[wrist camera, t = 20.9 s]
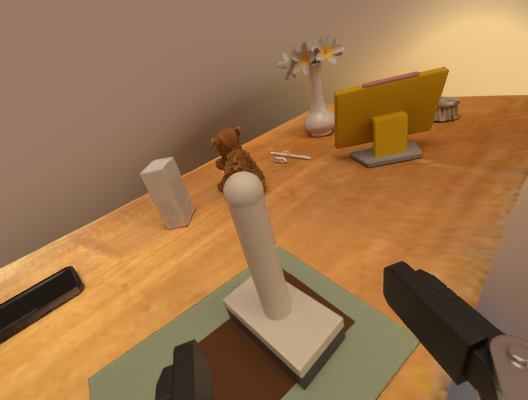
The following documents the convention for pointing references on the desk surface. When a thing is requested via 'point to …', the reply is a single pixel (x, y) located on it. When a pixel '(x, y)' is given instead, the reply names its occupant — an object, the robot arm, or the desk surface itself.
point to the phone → (38, 301)
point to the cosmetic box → (168, 192)
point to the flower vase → (314, 79)
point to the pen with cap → (283, 160)
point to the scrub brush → (276, 292)
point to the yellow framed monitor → (388, 115)
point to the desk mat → (256, 359)
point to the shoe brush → (447, 109)
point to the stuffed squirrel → (233, 156)
